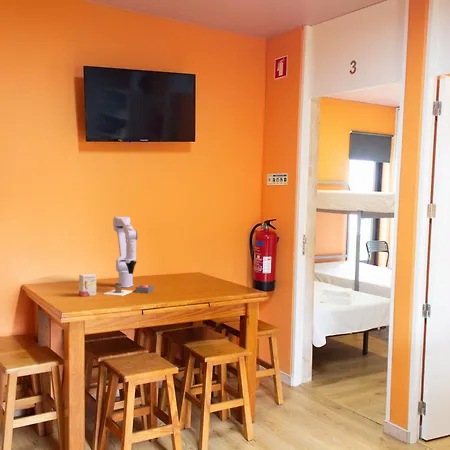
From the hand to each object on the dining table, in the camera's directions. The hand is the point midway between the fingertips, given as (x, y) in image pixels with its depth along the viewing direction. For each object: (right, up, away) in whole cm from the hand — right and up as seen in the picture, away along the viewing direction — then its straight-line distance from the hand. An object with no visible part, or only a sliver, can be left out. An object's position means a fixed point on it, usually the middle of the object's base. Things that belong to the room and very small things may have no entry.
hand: (130, 273), depth 320 cm
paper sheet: (-6, -11, -6) cm, 14 cm away
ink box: (-22, -11, -14) cm, 28 cm away
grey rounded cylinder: (-6, -10, -6) cm, 13 cm away
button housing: (+8, -11, 0) cm, 13 cm away
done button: (+8, -9, 0) cm, 12 cm away
